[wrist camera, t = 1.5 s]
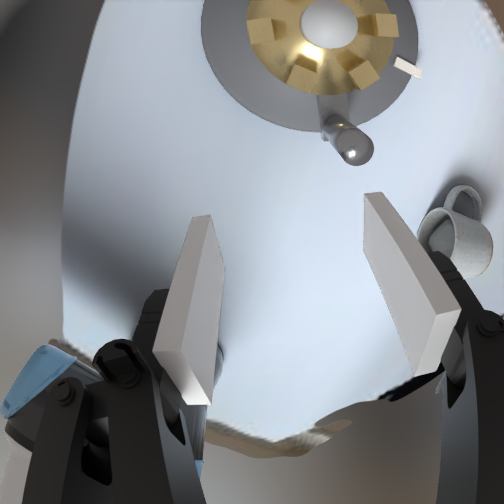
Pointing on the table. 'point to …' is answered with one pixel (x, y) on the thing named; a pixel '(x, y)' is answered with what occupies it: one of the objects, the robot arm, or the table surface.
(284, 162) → the table surface
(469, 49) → the table surface
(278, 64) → the gold crank wheel
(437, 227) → the ceramic mug
